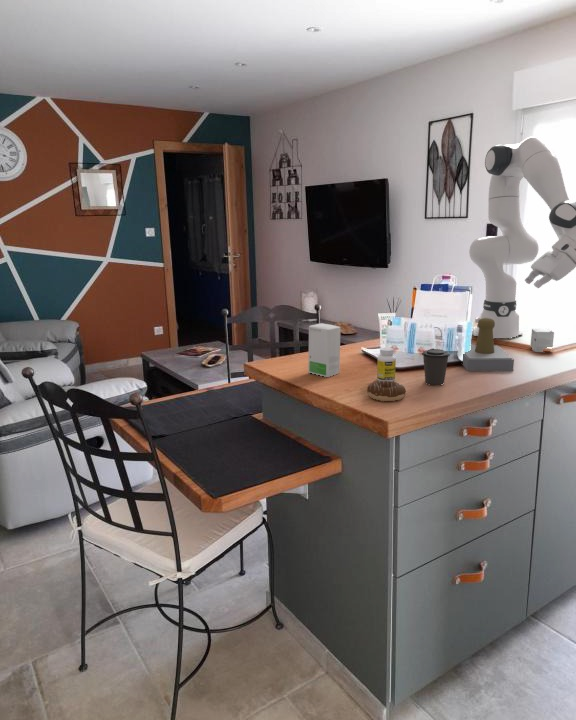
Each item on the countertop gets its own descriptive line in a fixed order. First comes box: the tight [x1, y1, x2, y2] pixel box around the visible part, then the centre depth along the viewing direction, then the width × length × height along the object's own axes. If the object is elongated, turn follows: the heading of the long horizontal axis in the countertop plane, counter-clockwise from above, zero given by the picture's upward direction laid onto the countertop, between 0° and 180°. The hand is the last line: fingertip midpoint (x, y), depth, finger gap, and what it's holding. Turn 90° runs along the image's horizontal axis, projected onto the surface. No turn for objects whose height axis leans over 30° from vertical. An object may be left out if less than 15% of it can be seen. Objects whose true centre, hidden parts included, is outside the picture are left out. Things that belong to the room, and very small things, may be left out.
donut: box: [366, 380, 407, 402], centre depth 155 cm, size 11×11×4 cm
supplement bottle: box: [376, 346, 397, 382], centre depth 169 cm, size 5×5×10 cm
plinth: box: [462, 345, 515, 372], centre depth 185 cm, size 18×14×4 cm
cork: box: [475, 318, 495, 354], centre depth 183 cm, size 6×6×11 cm
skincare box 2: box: [530, 328, 555, 353], centre depth 199 cm, size 6×6×7 cm
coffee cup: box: [421, 348, 451, 386], centre depth 165 cm, size 8×8×10 cm
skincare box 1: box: [307, 323, 341, 378], centre depth 177 cm, size 8×7×16 cm
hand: (531, 284), depth 177 cm, fingers open, 8 cm apart
